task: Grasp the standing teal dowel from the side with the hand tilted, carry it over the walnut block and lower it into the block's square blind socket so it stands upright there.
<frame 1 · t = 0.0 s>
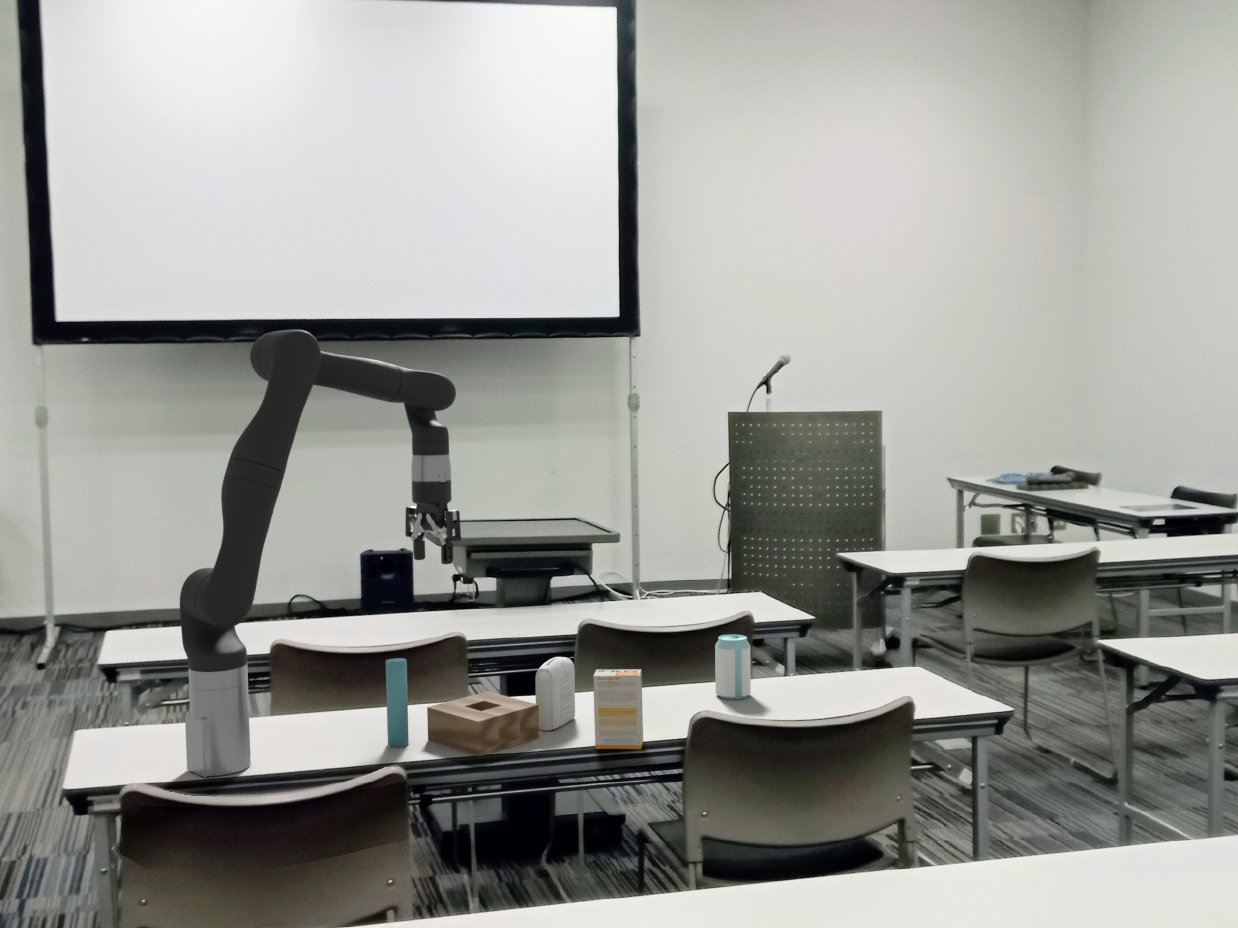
hand: (433, 561, 223), 29 cm above the table, tool pointing down, fingers open, 8 cm apart
pin: (398, 744, 203), on the table
can: (733, 696, 233), on the table
supplement box: (619, 746, 201), on the table
socket block: (483, 738, 206), on the table
photo printer: (556, 724, 215), on the table
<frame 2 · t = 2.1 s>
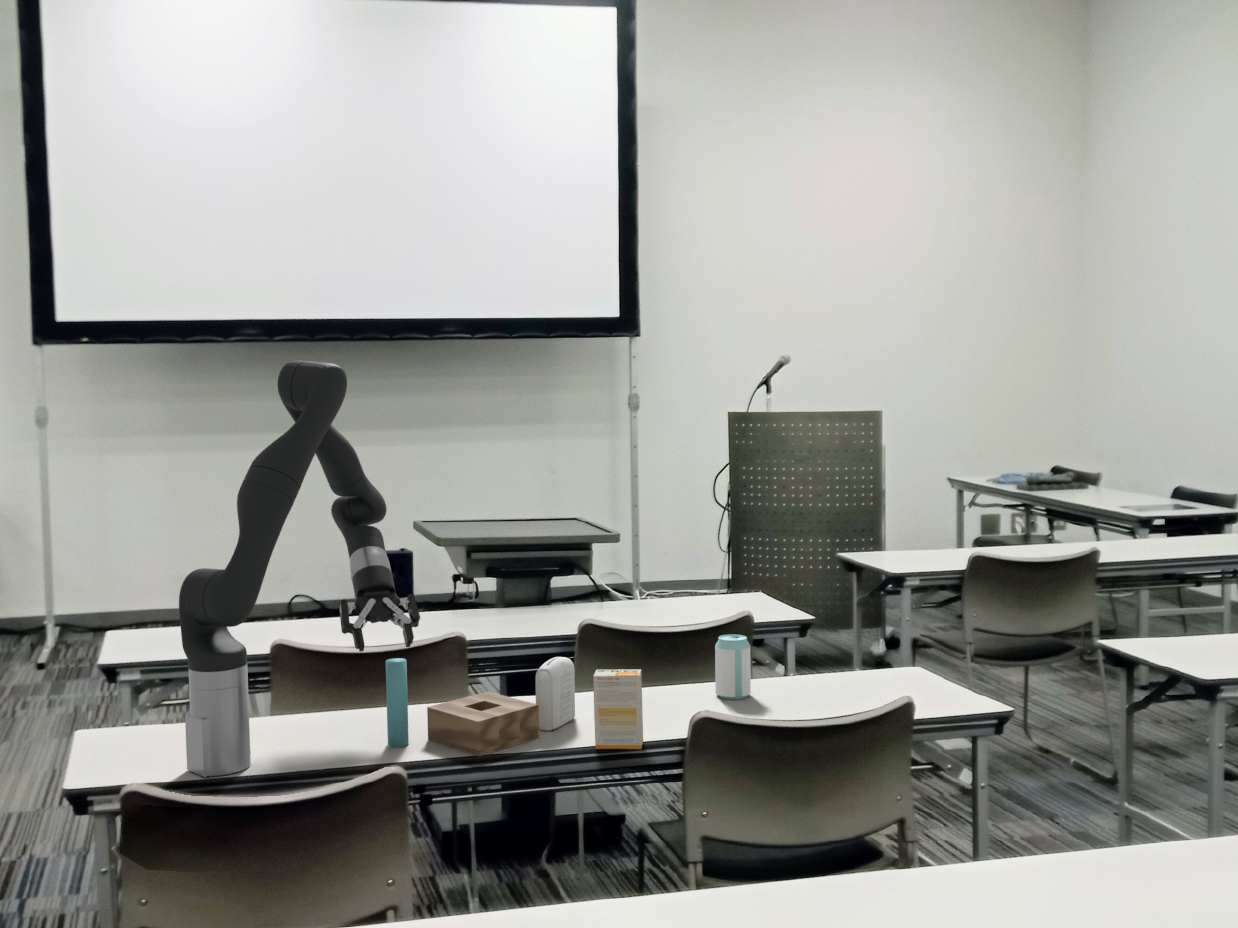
hand: (385, 646, 210), 16 cm above the table, tool tilted 45°, fingers open, 8 cm apart
nothing on the table moved.
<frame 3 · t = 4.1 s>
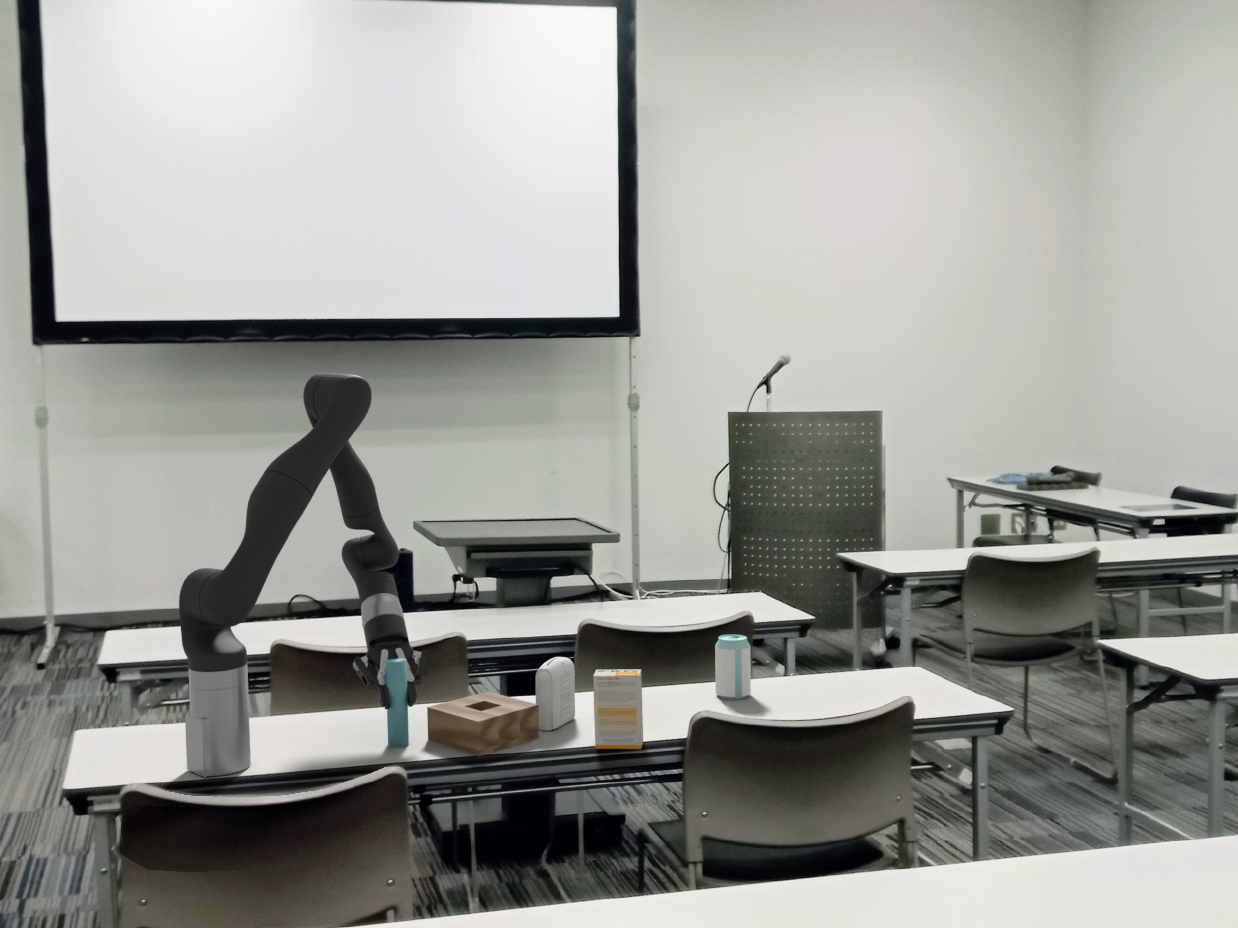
hand: (399, 705, 201), 8 cm above the table, tool tilted 45°, fingers closed on pin, 3 cm apart
pin: (398, 744, 203), on the table, touching gripper
everything else where it was.
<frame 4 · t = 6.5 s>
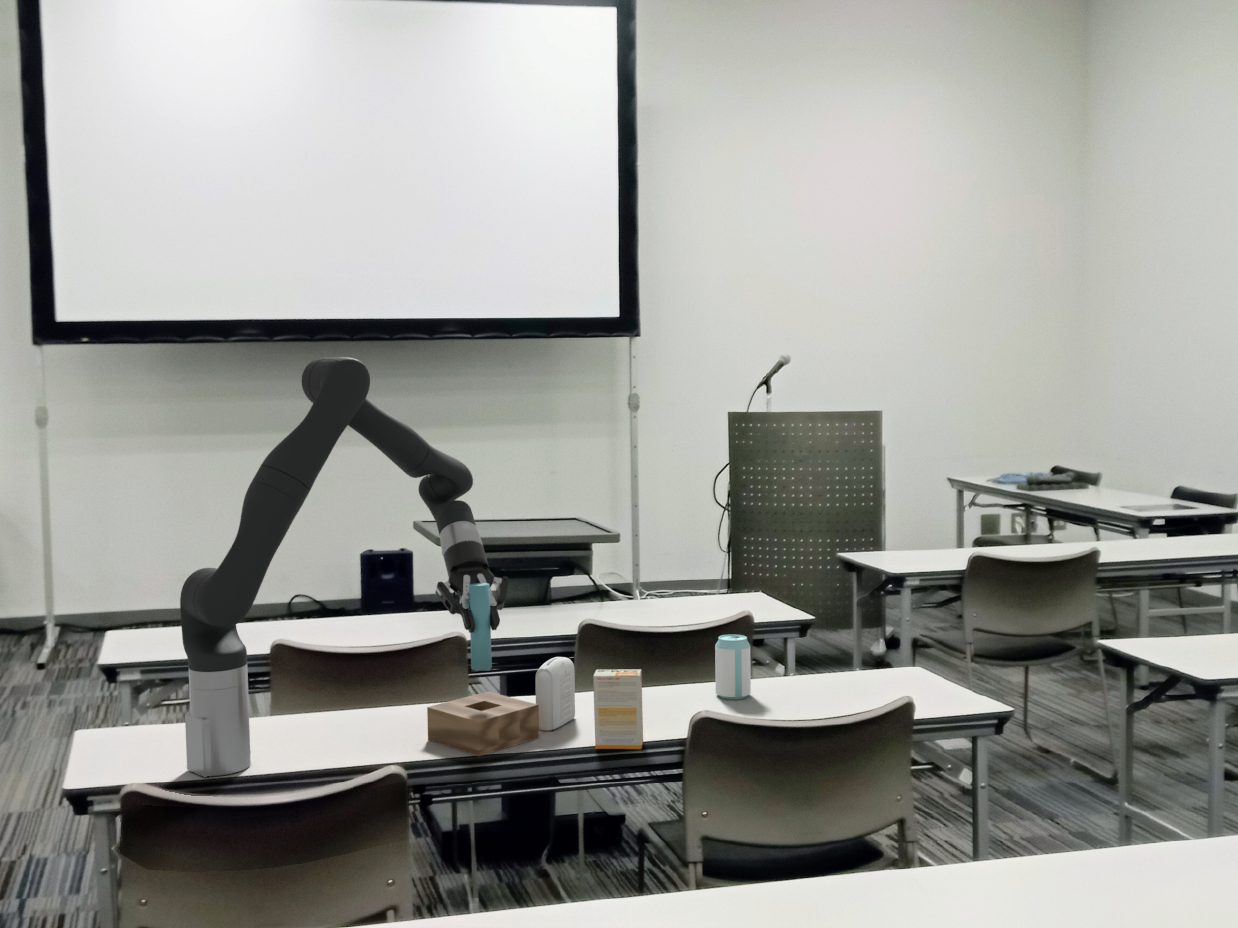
hand: (483, 628, 203), 20 cm above the table, tool tilted 45°, fingers closed on pin, 3 cm apart
pin: (481, 667, 206), point 13 cm above the table, touching gripper
everything else where it was.
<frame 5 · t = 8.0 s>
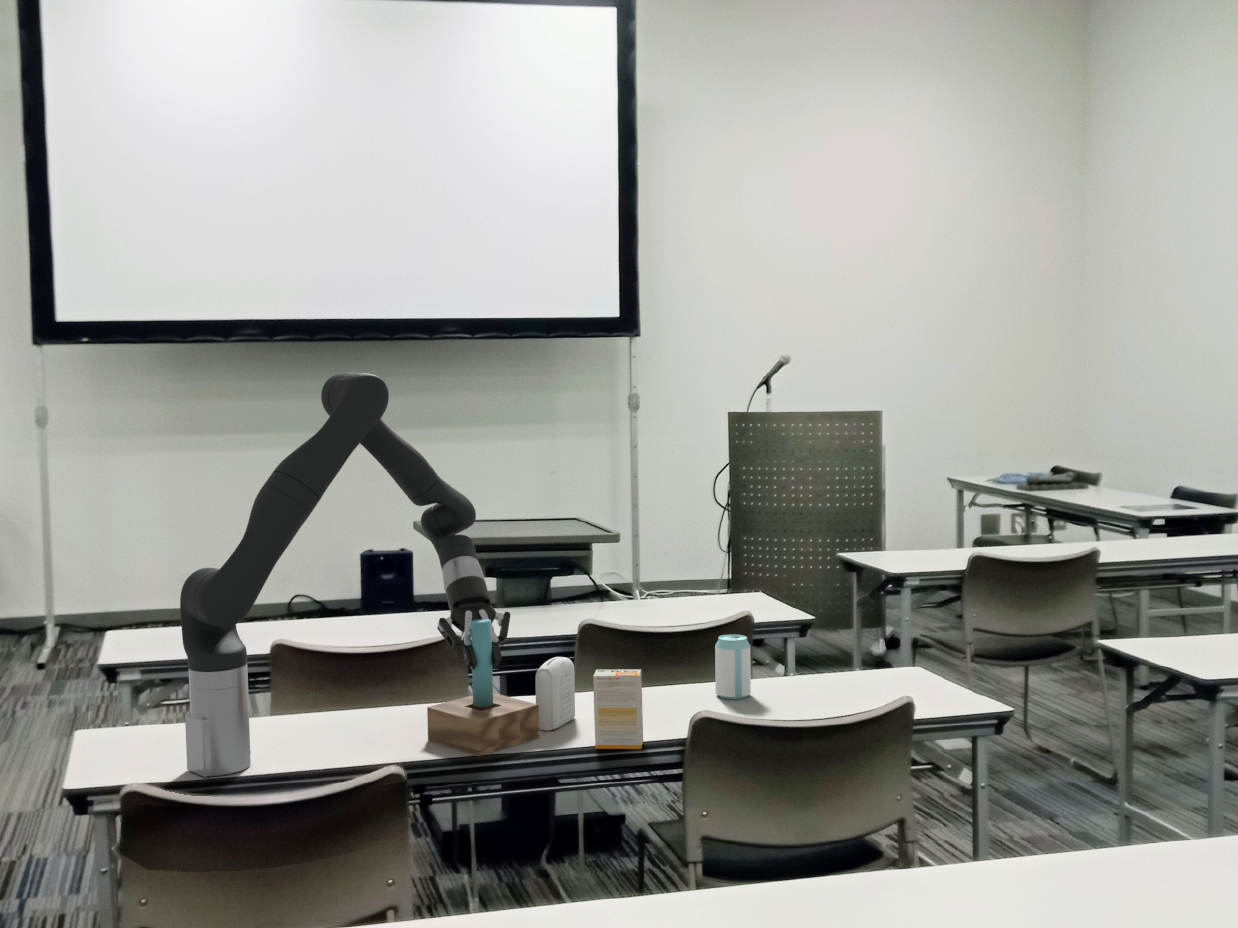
hand: (485, 665, 203), 14 cm above the table, tool tilted 45°, fingers closed on pin, 3 cm apart
pin: (483, 704, 206), point 6 cm above the table, touching gripper
everything else where it was.
when the fingers open (10 cm above the table, at t = 9.1 s): pin drops 2 cm, resting on socket block.
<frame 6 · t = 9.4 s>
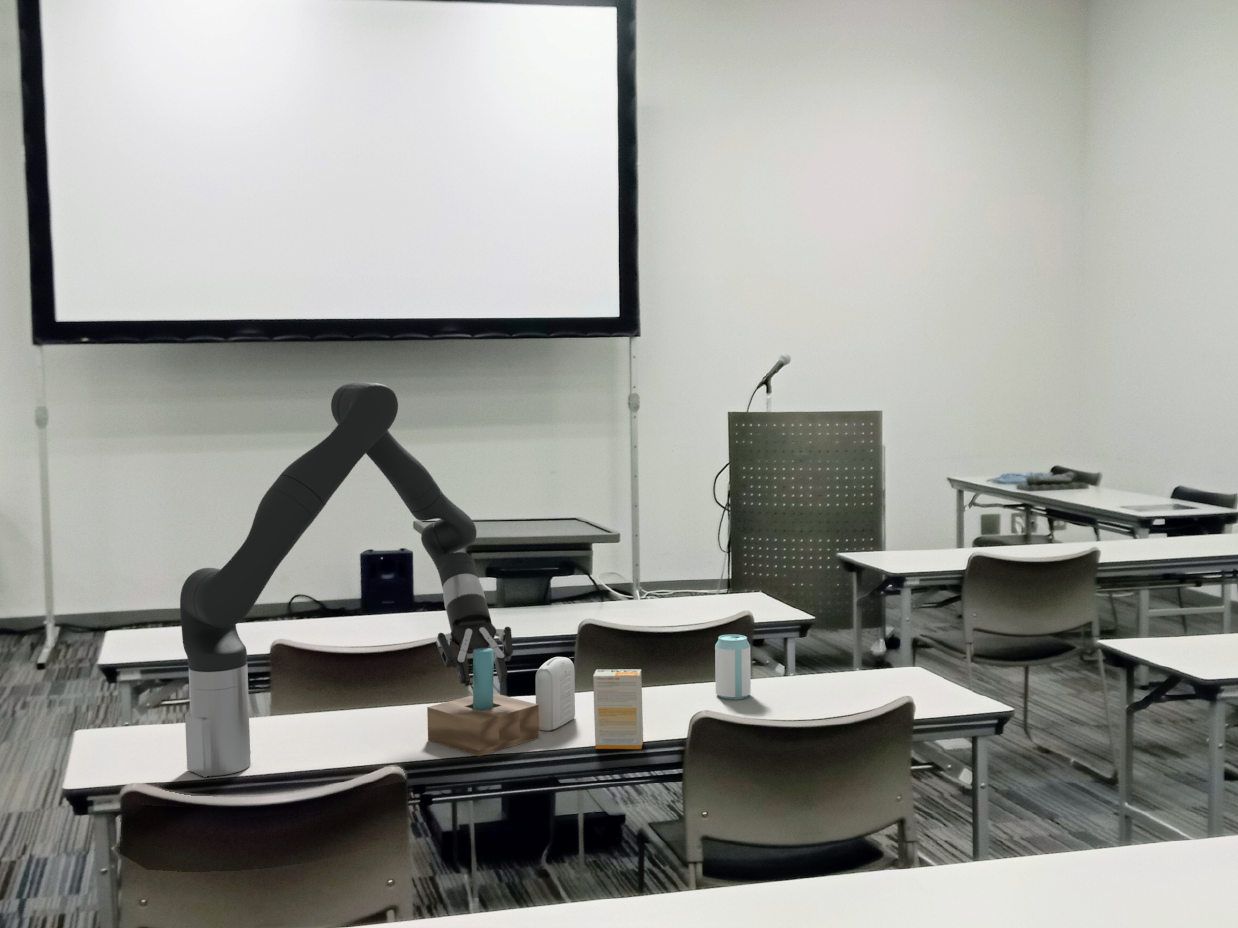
hand: (485, 681, 204), 11 cm above the table, tool tilted 45°, fingers open, 6 cm apart
pin: (482, 732, 206), point 1 cm above the table, touching socket block
everything else where it was.
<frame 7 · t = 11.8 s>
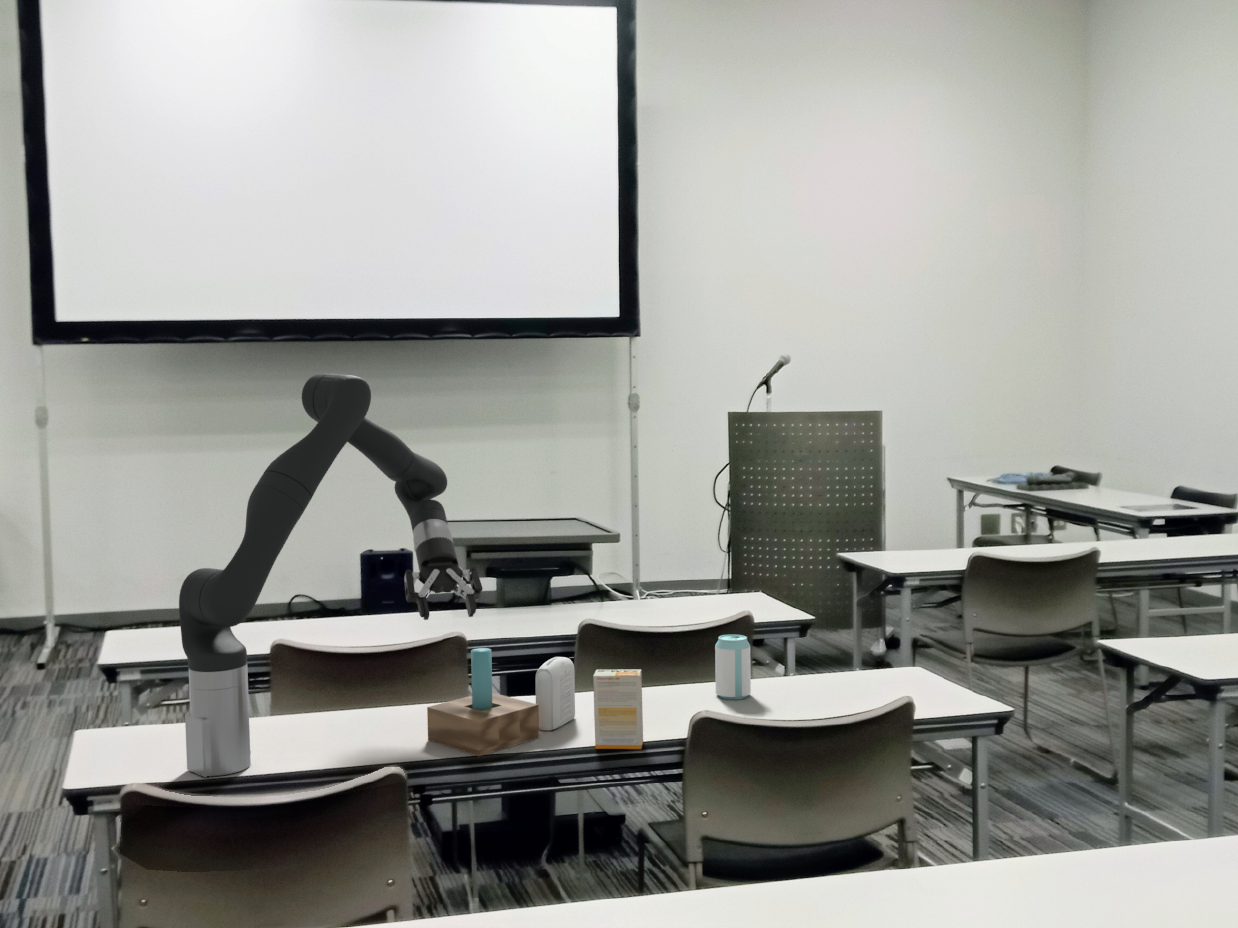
hand: (449, 615, 215), 20 cm above the table, tool tilted 45°, fingers open, 8 cm apart
nothing on the table moved.
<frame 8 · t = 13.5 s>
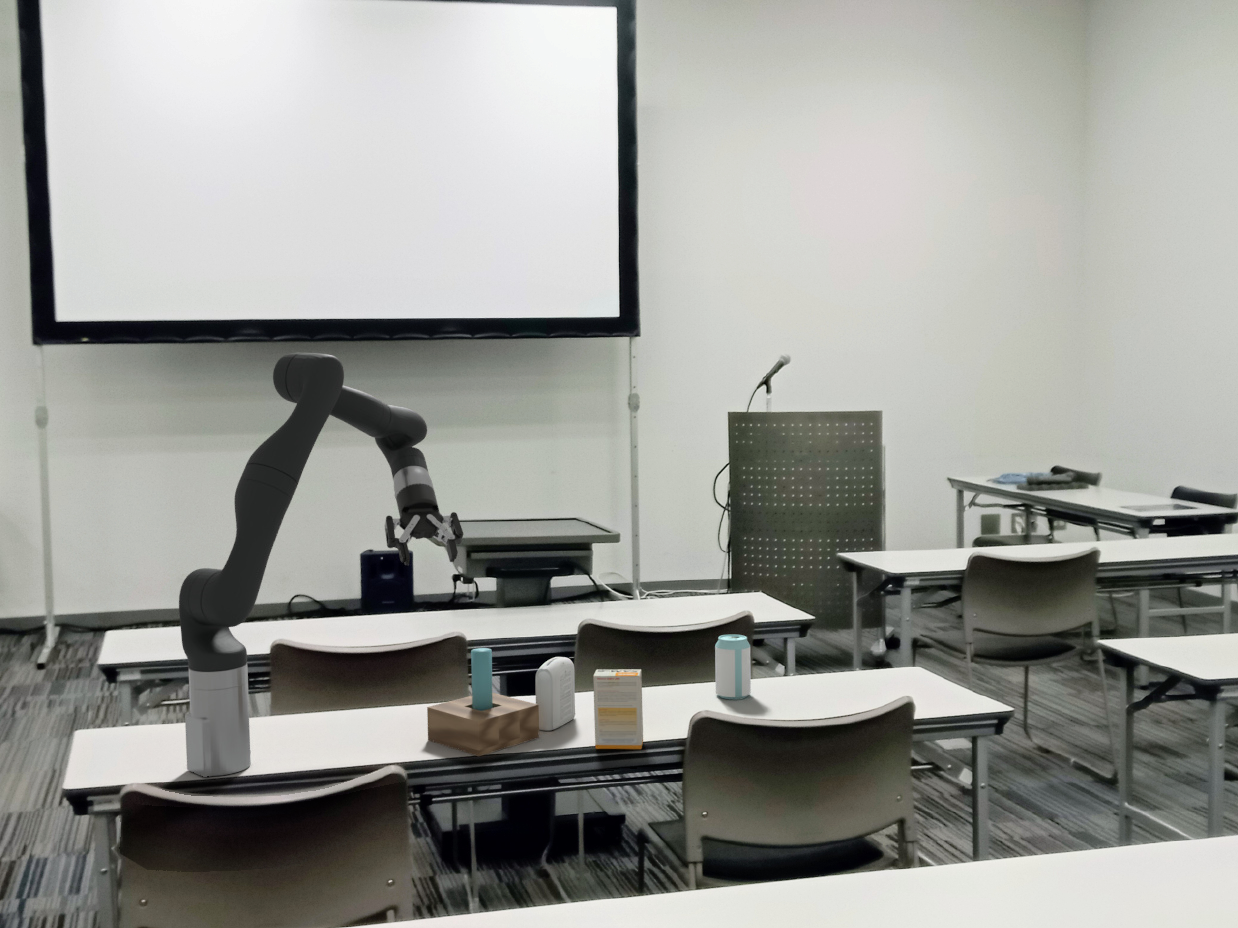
hand: (430, 560, 215), 31 cm above the table, tool tilted 45°, fingers open, 8 cm apart
nothing on the table moved.
at the end: pin 0.1 cm off-centre on the socket block, point 1.0 cm above the socket block's base; pin tilted 0°; the gripper is holding nothing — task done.
